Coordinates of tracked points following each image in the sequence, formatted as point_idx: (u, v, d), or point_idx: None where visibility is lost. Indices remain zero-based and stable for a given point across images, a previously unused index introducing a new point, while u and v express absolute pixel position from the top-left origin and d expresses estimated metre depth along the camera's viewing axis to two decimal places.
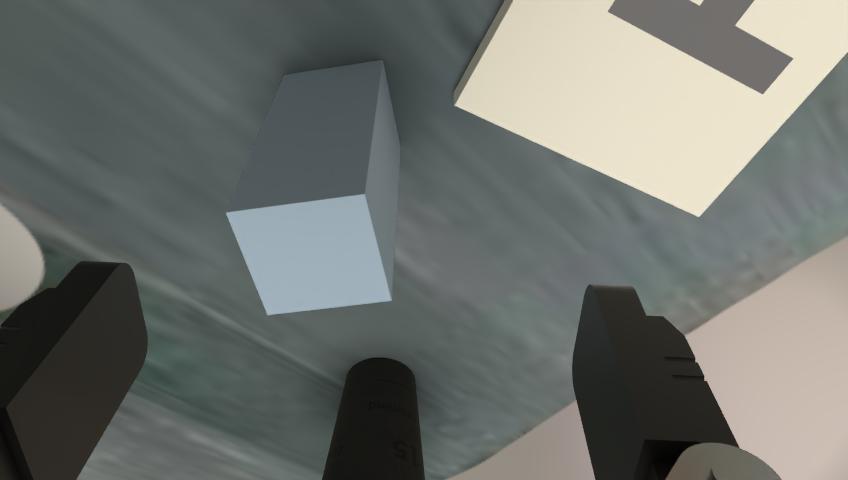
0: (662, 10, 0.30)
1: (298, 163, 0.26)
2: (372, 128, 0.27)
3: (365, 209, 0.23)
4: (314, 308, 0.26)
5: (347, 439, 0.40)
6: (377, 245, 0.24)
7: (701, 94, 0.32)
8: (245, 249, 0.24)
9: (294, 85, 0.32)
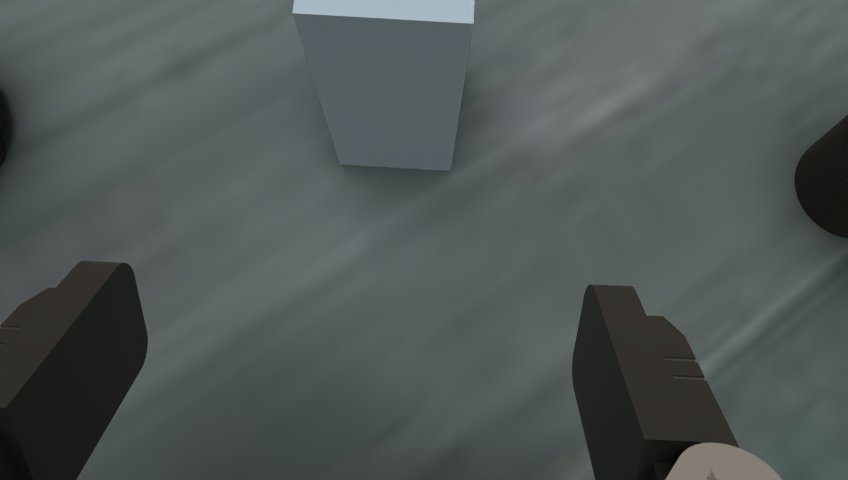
0: None
1: None
2: None
3: None
4: None
5: None
6: None
7: None
8: (355, 10, 0.18)
9: None
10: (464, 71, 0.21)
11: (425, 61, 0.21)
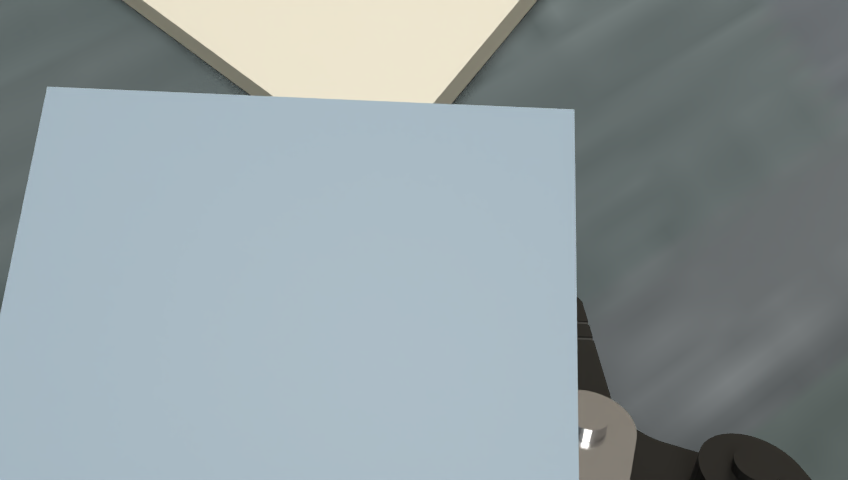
0: None
1: None
2: None
3: (112, 102, 0.06)
4: (570, 449, 0.06)
5: None
6: (289, 101, 0.06)
7: None
8: None
9: None
10: None
11: None
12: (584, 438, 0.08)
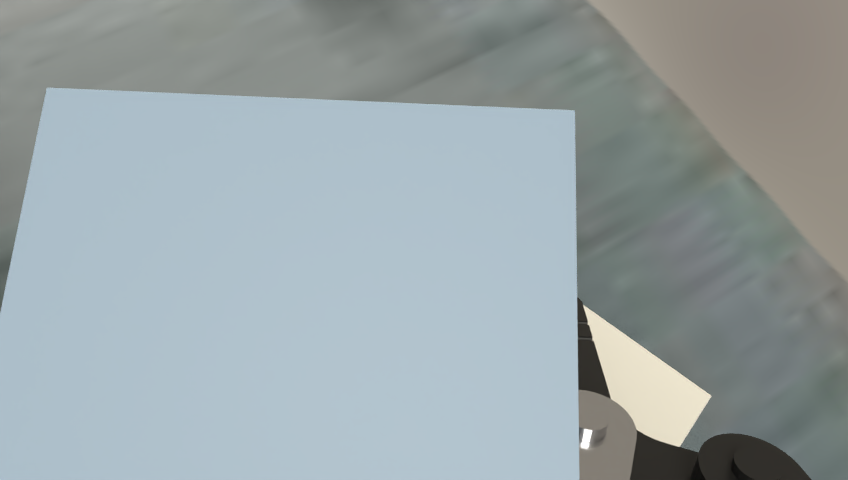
0: None
1: None
2: None
3: (112, 103, 0.06)
4: (571, 451, 0.06)
5: None
6: (289, 102, 0.06)
7: None
8: None
9: None
10: None
11: None
12: (584, 437, 0.08)
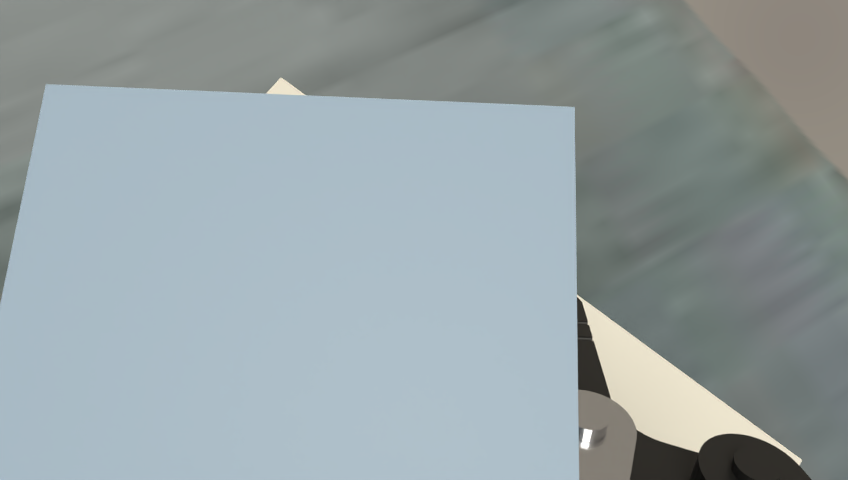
0: None
1: None
2: None
3: (111, 99, 0.06)
4: (570, 447, 0.05)
5: None
6: (288, 98, 0.06)
7: None
8: None
9: None
10: None
11: None
12: (584, 438, 0.08)
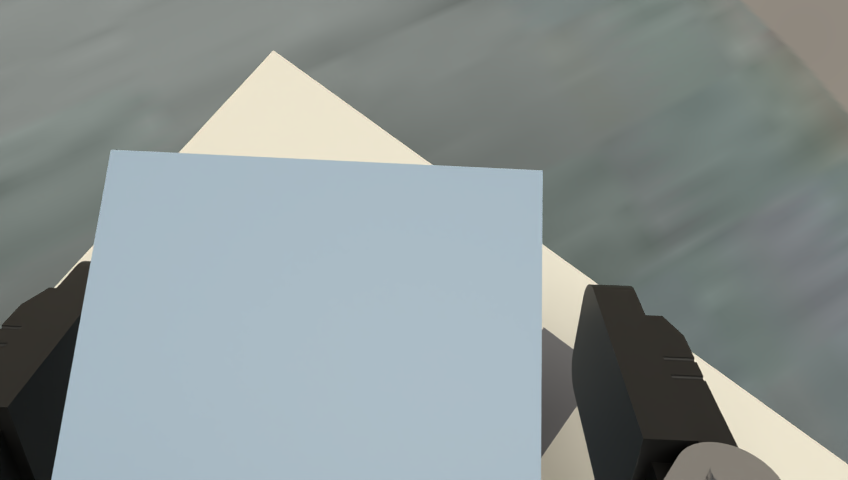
0: None
1: None
2: None
3: (164, 162, 0.08)
4: (534, 448, 0.07)
5: None
6: (309, 162, 0.08)
7: (587, 477, 0.18)
8: None
9: None
10: None
11: None
12: None
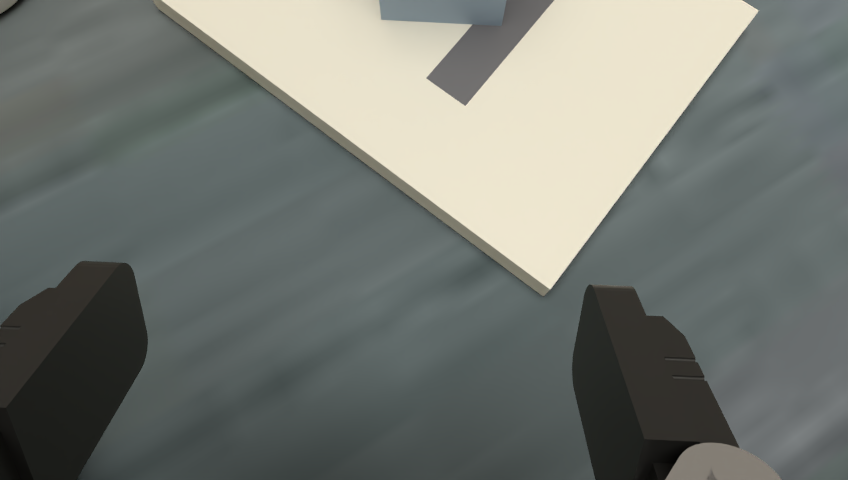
0: (475, 52, 0.27)
1: None
2: None
3: None
4: None
5: None
6: None
7: (582, 13, 0.28)
8: None
9: None
10: None
11: None
12: None
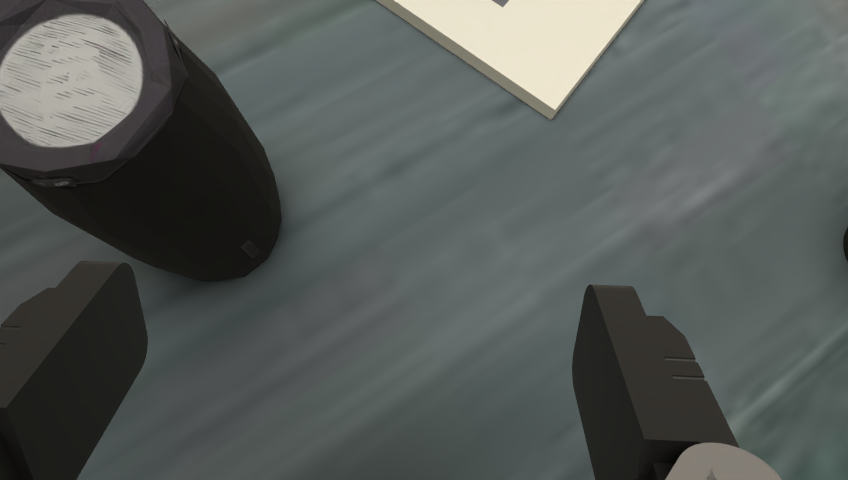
0: None
1: None
2: None
3: None
4: None
5: None
6: None
7: None
8: None
9: None
10: None
11: None
12: None
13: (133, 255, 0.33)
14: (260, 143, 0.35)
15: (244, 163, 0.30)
